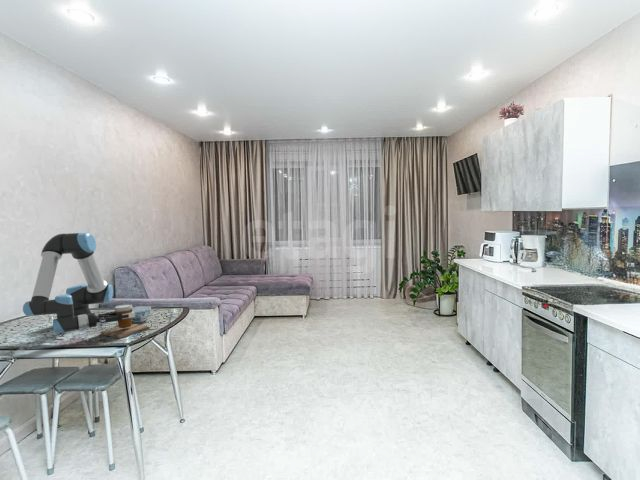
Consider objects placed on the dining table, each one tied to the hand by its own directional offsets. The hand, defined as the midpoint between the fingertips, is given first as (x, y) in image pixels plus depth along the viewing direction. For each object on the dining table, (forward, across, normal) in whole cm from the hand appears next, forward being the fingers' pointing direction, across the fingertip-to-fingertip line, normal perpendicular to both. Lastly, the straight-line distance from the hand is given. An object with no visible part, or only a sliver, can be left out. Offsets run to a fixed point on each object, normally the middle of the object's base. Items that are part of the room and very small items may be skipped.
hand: (133, 312), depth 222 cm
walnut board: (-5, 0, -10) cm, 11 cm away
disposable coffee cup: (-5, 0, -7) cm, 9 cm away
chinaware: (+6, -19, -10) cm, 23 cm away
